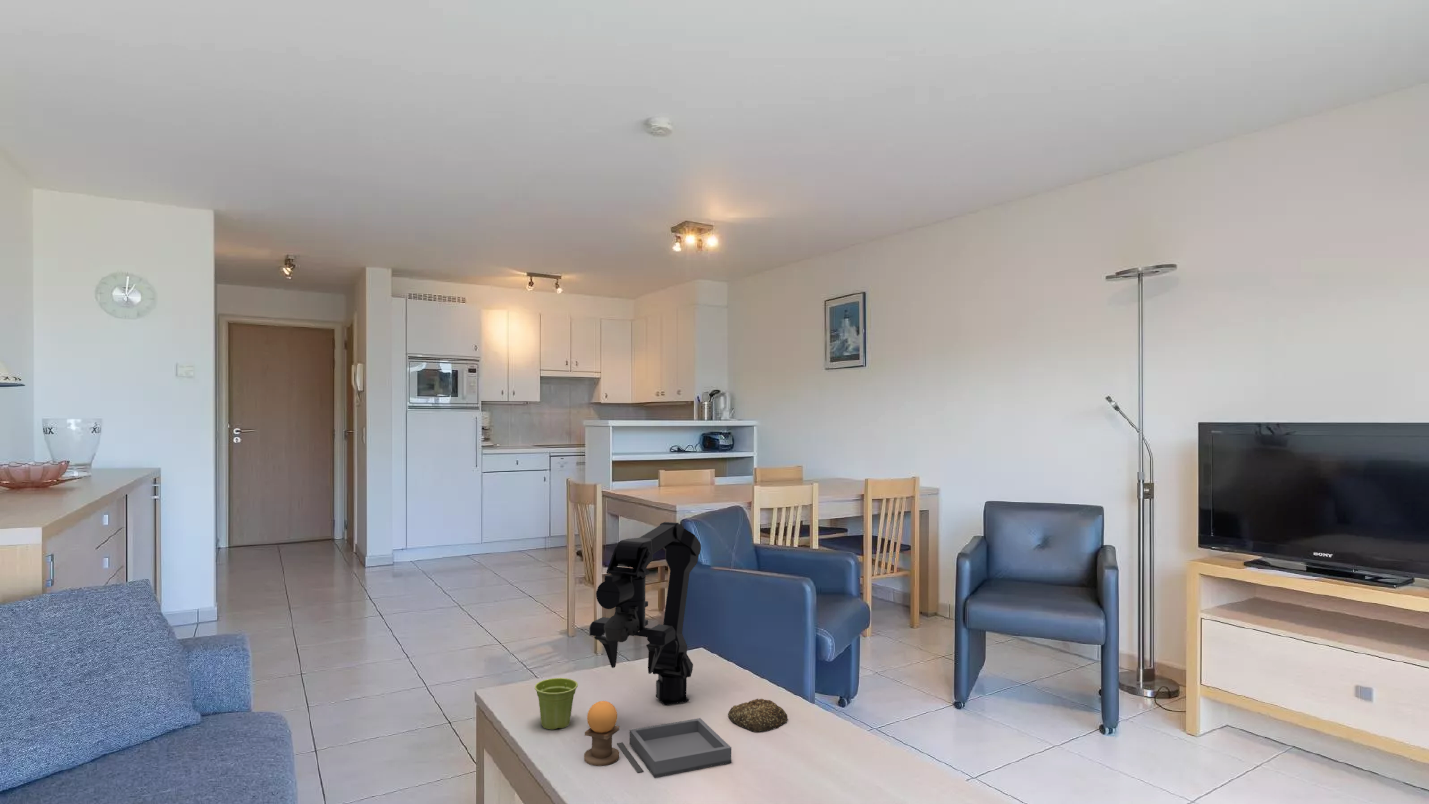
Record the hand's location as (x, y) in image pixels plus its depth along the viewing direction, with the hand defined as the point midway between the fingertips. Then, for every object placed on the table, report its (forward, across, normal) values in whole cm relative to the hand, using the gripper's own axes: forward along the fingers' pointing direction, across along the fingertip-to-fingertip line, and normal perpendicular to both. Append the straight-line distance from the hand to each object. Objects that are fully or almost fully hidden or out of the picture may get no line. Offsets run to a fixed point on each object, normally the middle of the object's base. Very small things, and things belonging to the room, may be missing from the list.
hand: (631, 670), depth 165 cm
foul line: (+13, +6, -12) cm, 19 cm away
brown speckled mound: (+14, +24, +17) cm, 32 cm away
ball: (+8, +1, -14) cm, 16 cm away
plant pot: (+13, -17, -4) cm, 22 cm away
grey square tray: (+13, +14, -6) cm, 20 cm away
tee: (+13, +1, -14) cm, 19 cm away
